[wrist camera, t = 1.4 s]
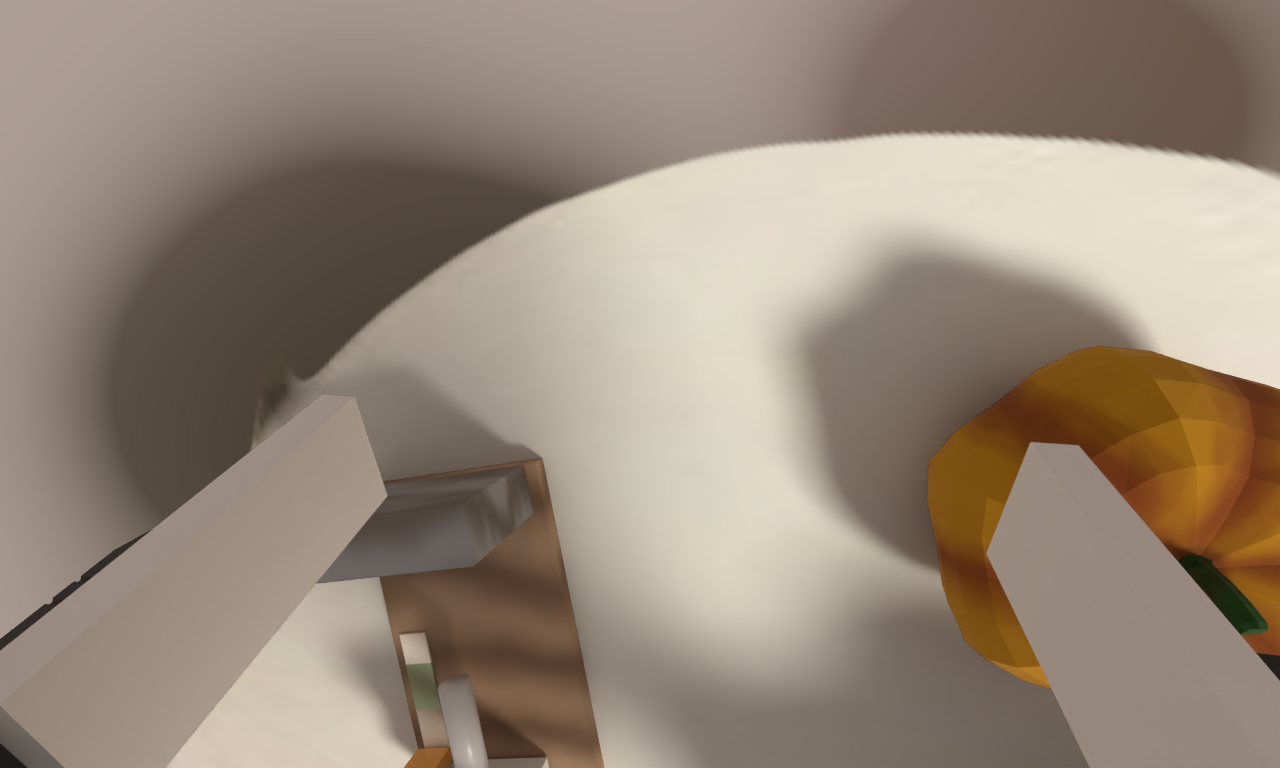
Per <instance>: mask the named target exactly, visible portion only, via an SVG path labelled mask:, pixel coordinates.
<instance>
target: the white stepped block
mask: <svg viewBox="0 0 1280 768" xmlns="http://www.w3.org/2000/svg"><path fill="white" fill-rule="evenodd" d="M438 694H439V699H440V703H441V708H442V712H443V717H444V721H445V726H446V731H447V735H448V740H449V744H450V749H451V753H452V758H453V762H454V763H451V764H450V765H449V767H448V768H549V764H548V760H547V757H543V758H512V759H488V758H487V753H486V748H485V744H484V739H483V734H482V730H481V725H480V720H479V716H478V711H477V706H476V702H475V697H474V693H473V688H472V683H471V679H470V676H469V675H467V674H459V675H455V676H452V677H450V678H448V679H446V680H445V681H443V682H442V683H441V684H440V685H439V687H438Z"/></svg>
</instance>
